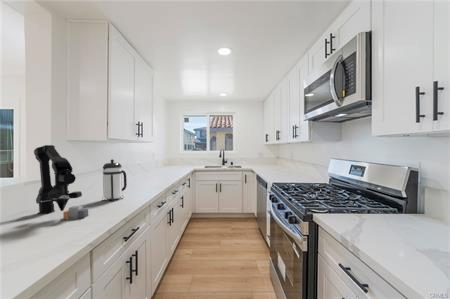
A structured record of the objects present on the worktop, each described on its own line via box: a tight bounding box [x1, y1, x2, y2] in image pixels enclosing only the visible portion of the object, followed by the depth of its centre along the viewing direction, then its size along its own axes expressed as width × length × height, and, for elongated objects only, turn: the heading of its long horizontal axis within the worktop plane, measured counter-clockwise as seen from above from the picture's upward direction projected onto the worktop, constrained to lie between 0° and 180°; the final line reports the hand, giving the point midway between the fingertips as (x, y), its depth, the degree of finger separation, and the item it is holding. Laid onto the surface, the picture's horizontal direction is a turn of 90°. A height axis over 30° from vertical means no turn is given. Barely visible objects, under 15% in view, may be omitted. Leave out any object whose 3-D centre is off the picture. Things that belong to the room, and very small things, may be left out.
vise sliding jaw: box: [62, 208, 70, 220], centre depth 131 cm, size 2×5×4 cm, turn 5°
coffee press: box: [101, 159, 128, 202], centre depth 178 cm, size 17×16×30 cm
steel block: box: [68, 205, 83, 220], centre depth 132 cm, size 5×4×6 cm
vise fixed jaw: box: [77, 208, 89, 219], centre depth 132 cm, size 3×5×4 cm, turn 5°
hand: (62, 210), depth 131 cm, fingers closed
